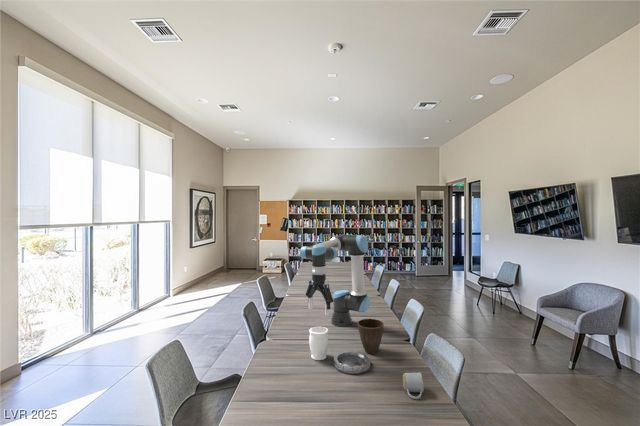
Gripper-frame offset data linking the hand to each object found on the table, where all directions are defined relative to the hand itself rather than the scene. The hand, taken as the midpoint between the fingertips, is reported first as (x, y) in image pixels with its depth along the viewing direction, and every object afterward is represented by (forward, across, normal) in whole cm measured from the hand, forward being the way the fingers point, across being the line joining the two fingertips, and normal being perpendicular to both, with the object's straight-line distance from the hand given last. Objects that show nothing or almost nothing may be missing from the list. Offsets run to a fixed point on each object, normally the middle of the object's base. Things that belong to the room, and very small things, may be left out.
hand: (318, 312), depth 162 cm
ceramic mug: (+25, +52, +9) cm, 59 cm away
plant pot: (+25, +15, +27) cm, 40 cm away
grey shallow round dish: (+25, +18, +7) cm, 31 cm away
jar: (+25, 0, 0) cm, 25 cm away
